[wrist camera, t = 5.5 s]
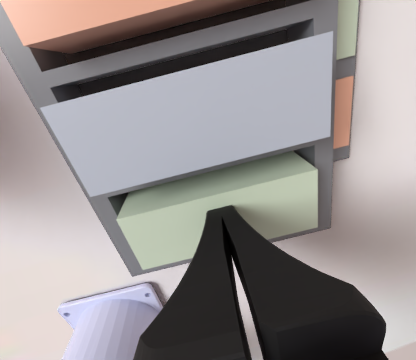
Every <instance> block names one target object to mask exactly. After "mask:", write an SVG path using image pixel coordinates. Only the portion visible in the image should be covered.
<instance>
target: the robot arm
mask: <svg viewBox="0 0 416 360" xmlns="http://www.w3.org/2000/svg"><path fill="white" fill-rule="evenodd" d="M231 255H232V256H231ZM232 258H233V261H234V264H235V266H236V269H237V272H238V275H239V277H240V280H241V283H242V286H243V289H244V291H245V294H246V297H247V300H248V303H249V307H250V311H251V314H252V318H253V322H254V326H255V329H256V333H257V337H258V341H259V344H260V348H261V352H262V356H263V359H264V360H388V358H387V357H386V355H385V354H384V353H383V351H382V350H381V349H382V345H383V341H384V337H385V333H386V323H385V321H384V319H383V317H382V316H381V315H380V314H379V312H378V311H377V310H376V309H375V307H374V306H373V305H372V304H371V303H370V302H369V301H368V300H367V299H366V298H365V297H364V296H363V295H362V294H361V293H360V292H359V291H358V290H357V289H356V288H355V287H354V286H353V285H351V284H349V283H346V282H344V281H342V280H339V279H337V278H334V277H332V276H329V275H327V274H325V273H322V272H320V271H318V270H316V269H314V268H312V267H310V266H308V265H306V264H304V263H303V262H301V261H299V260H297V259H295V258H294V257H292V256H290V255H288V254H287V253H285V252H284V251H282V250H281V249H279V248H278V247H276V246H275V245H273V244H272V243H271V242H269V241H268V240H267V239H265V238H264V237H263V236H262V235H261V234H259V233H258V232H257V231H256V230H255V229H254V228H253V227H251V226H250V225H249V224H248V223H247V222H246V221H245V220H244V219H243V218H242V216H241V215H240V214H239V213H238V212H237V210H236V209H235V208H234V206H232V205H229V206H225V207H221V208H217V209H213V210H209V211H207V213H206V220H205V224H204V228H203V232H202V235H201V238H200V241H199V244H198V246H197V249H196V252H195V254H194V256H193V259H192V261H191V263H190V265H189V267H188V269H187V271H186V273H185V274H184V276H183V278H182V280H181V281H180V283H179V285H178V286H177V288H176V290H175V291H174V293H173V294H172V295H171V297H170V298H169V300H168V301H167V303H166V304H165V306H164V307H163V306H162V304H161V302H160V300H159V298H158V296H157V294H156V292H155V291H154V289H153V287H152V285H151V284H148V283H144V284H140V285H136V286H132V287H128V288H124V289H120V290H116V291H112V292H107V293H103V294H99V295H95V296H91V297H87V298H83V299H79V300H75V301H71V302H66V303H63V304H61V305H60V306H59V308H58V310H57V311H58V312H59V313H60V315H61V316H62V317H63V318H64V319H65V320H66V321H67V322H68V323H69V325H70V326H71V327H72V328H73V329H74V332H73V334H72V336H71V339H70V341H69V343H68V346H67V348H66V350H65V353H64V355H63V357H62V359H61V360H252V358H251V354H250V350H249V345H248V341H247V337H246V333H245V328H244V324H243V320H242V316H241V311H240V307H239V302H238V297H237V290H236V283H235V276H234V269H233V263H232Z"/></svg>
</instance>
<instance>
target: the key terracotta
mask: <svg viewBox="0 0 416 360" xmlns="http://www.w3.org/2000/svg"><path fill="white" fill-rule="evenodd" d="M268 1H272V0H0V3H1V4H2V6H3V8H4V10H5V12H6V14H7V16H8V18H9V19H10V21H11V23H12V25H13V27H14V29H15V31H16V33H17V34H18V36H19V38H20V40H21V42H22V44H23V46H26V47H32V48H38V49H44V50H50V51H57V52H63V53H69V54H73V53H77V52H80V51H84V50H88V49H92V48H95V47H99V46H103V45H107V44H110V43H114V42H118V41H122V40H125V39H129V38H133V37H137V36H140V35H144V34H148V33H152V32H155V31H159V30H163V29H167V28H170V27H174V26H178V25H182V24H185V23H189V22H193V21H197V20H200V19H204V18H208V17H212V16H215V15H219V14H223V13H227V12H230V11H234V10H238V9H242V8H245V7H249V6H253V5H257V4H260V3H264V2H268Z"/></svg>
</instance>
